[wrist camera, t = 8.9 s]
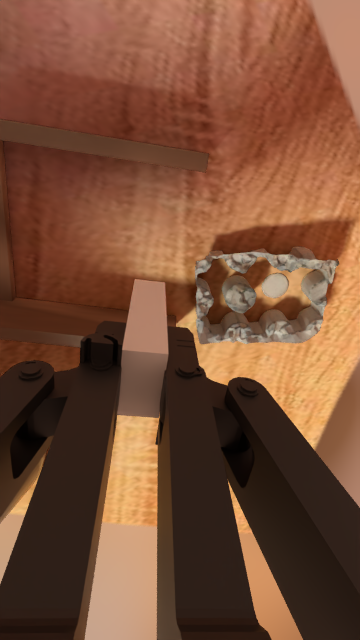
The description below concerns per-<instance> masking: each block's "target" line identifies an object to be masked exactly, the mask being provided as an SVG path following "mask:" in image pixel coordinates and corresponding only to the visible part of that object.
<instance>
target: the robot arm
mask: <svg viewBox="0 0 360 640" xmlns="http://www.w3.org/2000/svg"><path fill="white" fill-rule="evenodd" d="M159 412H160V418H159ZM117 415H126V416H141V417H155V418H159V425H158V431H157V437H156V445H158V513H157V529H158V530H157V640H271V638H270V635H269V633H268V632H267V631H266V630H265V629H264V628H263V627H261V626H260V625H259V623H258V620H257V618H256V615H255V611H254V607H253V602H252V597H251V592H250V587H249V582H248V577H247V572H246V568H245V563H244V558H243V553H242V548H241V543H240V539H239V533H238V529H237V524H236V519H235V514H234V509H233V504H232V499H231V495H230V490H229V485H228V481H229V483H230V485H231V488H232V490H233V492H234V494H235V496H236V498H237V500H238V502H239V504H240V507H241V509H242V511H243V513H244V515H245V517H246V519H247V521H248V524H249V526H250V528H251V530H252V532H253V534H254V536H255V538H256V540H257V542H258V545H259V547H260V549H261V551H262V553H263V555H264V557H265V560H266V562H267V564H268V566H269V568H270V570H271V572H272V574H273V577H274V579H275V581H276V583H277V585H278V587H279V589H280V591H281V594H282V596H283V598H284V600H285V602H286V604H287V606H288V608H289V610H290V613H291V615H292V617H293V619H294V621H295V623H296V625H297V627H298V630H299V632H300V634H301V636H302V638H303V640H360V508H359V506H358V505H357V504H356V503H355V501H354V500H353V499H352V497H351V496H350V495H349V494H348V492H347V491H346V490H345V489H344V487H343V486H342V485H341V484H340V482H339V481H338V480H337V479H336V477H335V476H334V475H333V473H332V472H331V471H330V470H329V468H328V467H327V466H326V465H325V463H324V462H323V461H322V460H321V458H320V457H319V456H318V454H317V453H316V452H315V451H314V449H313V448H312V447H311V445H310V444H309V443H308V442H307V440H306V439H305V438H304V437H303V435H302V434H301V433H300V432H299V430H298V429H297V428H296V426H295V425H294V424H293V423H292V421H291V420H290V419H289V418H288V416H287V415H286V414H285V412H284V411H283V410H282V409H281V407H280V406H279V405H278V404H277V402H276V401H275V400H274V399H273V397H272V396H271V395H270V393H269V392H268V391H267V390H266V388H265V387H264V386H262V385H261V384H260V383H259V382H257V381H255V380H253V379H249V378H244V377H238V378H233V379H232V380H230V381H229V383H228V386H227V385H224V384H220V383H217V382H214V381H212V380H210V379H208V378H207V377H206V373H205V371H204V369H203V368H201V367H200V366H199V363H198V358H197V352H196V348H195V343H194V336H193V334H192V333H191V332H190V330H189V329H188V328H182V327H172V326H167V314H166V294H165V282H157V281H148V280H140V279H135V280H134V286H133V291H132V297H131V303H130V308H129V314H128V319H127V323H124V322H114V321H105V320H104V321H103V322H102V323H100V324H99V325H98V326H97V328H96V331H95V333H94V334H89V335H87V336H85V337H83V339H82V340H81V341H80V364H79V366H78V367H77V368H74V369H71V370H66V371H59V372H54V369H53V367H52V366H51V365H50V364H48V363H46V362H43V361H35V360H33V361H25V362H22V363H19V364H16V365H15V366H13V367H11V368H10V369H9V370H8V371H7V372H6V373H4V374H3V375H2V376H1V377H0V523H1V522H2V521H3V519H4V518H5V517H6V516H7V515H8V514H9V512H10V511H11V510H12V509H13V508H14V506H15V505H16V504H17V503H18V502H19V500H20V499H21V498H22V497H23V496H24V494H25V493H26V492H27V491H28V490H29V488H30V487H31V486H32V485H33V483H34V482H35V480H36V479H37V477H38V475H39V472H40V470H41V467H42V465H43V467H42V470H41V473H40V476H39V478H38V481H37V484H36V487H35V489H34V492H33V495H32V498H31V501H30V503H29V506H28V509H27V512H26V515H25V517H24V520H23V523H22V526H21V528H20V531H19V534H18V537H17V540H16V542H15V545H14V548H13V551H12V554H11V556H10V559H9V562H8V565H7V567H6V570H5V573H4V576H3V579H2V581H1V584H0V640H84V638H85V631H86V625H87V618H88V611H89V605H90V598H91V591H92V584H93V578H94V571H95V564H96V557H97V551H98V544H99V537H100V530H101V524H102V517H103V510H104V504H105V497H106V490H107V483H108V477H109V470H110V463H111V456H112V450H113V443H114V436H115V429H116V420H117ZM49 447H50V448H49ZM48 448H49V451H48V453H47V450H48ZM46 453H47V456H46ZM45 457H46V459H45ZM44 460H45V462H44ZM43 462H44V464H43ZM227 479H228V480H227Z"/></svg>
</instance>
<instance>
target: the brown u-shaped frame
mask: <svg viewBox="0 0 360 640" xmlns="http://www.w3.org/2000/svg"><path fill="white" fill-rule="evenodd" d="M3 140H4V141H11V142H17V143H23V144H29V145H36V146H42V147H48V148H54V149H61V150H67V151H73V152H79V153H86V154H92V155H98V156H105V157H111V158H117V159H123V160H130V161H136V162H142V163H148V164H155V165H161V166H167V167H173V168H180V169H186V170H192V171H199V172H205V173H206V169H207V163H208V157H209V154H208V153H203V152H197V151H191V150H185V149H179V148H173V147H167V146H160V145H154V144H148V143H142V142H136V141H130V140H124V139H118V138H112V137H106V136H100V135H94V134H88V133H82V132H76V131H70V130H64V129H58V128H52V127H46V126H40V125H34V124H27V123H21V122H15V121H9V120H3V119H0V339H4V340H13V341H23V342H32V343H42V344H52V345H61V346H71V347H80V341H81V340H82V339H83V337H85V336H87V335H89V334H94V333H95V331H96V328H97V326H98V325H99V324H100V323H102V322H103V321H104V320H105V321H114V322H124V323H127V319H128V314H129V311H128V310H119V309H111V308H102V307H93V306H85V305H76V304H68V303H59V302H50V301H42V300H33V299H25V298H16V293H15V280H14V268H13V256H12V244H11V231H10V219H9V207H8V195H7V182H6V170H5V158H4V146H3ZM167 326H172V327H176V319H175V316H171V315H167Z"/></svg>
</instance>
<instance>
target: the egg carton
mask: <svg viewBox="0 0 360 640" xmlns="http://www.w3.org/2000/svg"><path fill="white" fill-rule="evenodd" d="M257 257H265V258H266V259H267V260H268V261H269V262H270V264H271V265H272V266H273V267H275V268H277V269H279V270H281V271H283V270H287V271H289V272H292V271H294V270H296V269H298V268H299V267H303V268H309V269H316V270H315V271H313V272H310V273H308V274H307V275H306V276H305V277H304V278H303V280H302V282H301V288H302V291H303V293H304V294H305V295H306V296H307V297H308V298H309V299H310V300H311V305H310V307H307V308H305V309H303V310H302V311H301V312H300V313H299V314H298V316H297V318H296V319H295V320H287V318H286V317H285V315H284V314H283V313H282V312H281V311H279V310H276V309H271V310H268V311H266V312H265V313H263V314H262V316H261V317H260V319H259V321H258V322H248V321H247V319H246V317H245V315H244V314H243V313H245V312H246V311H247V310H248V309H250V308H251V307H252V306H253V305H254V304H255V301H256V297H257V296H256V293H255V291H254V289H252V288H251V286H250V284H249V283H248V281H247V280H246V279H245V278H244V277H242V276H239V275H234V276H230V277H229V278H227V279H226V280H225V281H224V283H223V286H222V292H223V295H224V298H225V302H226V304H227V305H228V306H229V308H231V309H232V310H233V311H234V312H230V313H227V314H226V315H225V316H224V317H223V319H222V321H221V323H220V324H210V323H209V320H208V318H207V317H206V316H205V315H207V314H208V311H209V308H210V307H211V306H212V305H213V303H214V298H213V296H212V295H211V292H210V288H209V285H208V283H207V282H206V281H205V280H204V279H202V278H198V277H197V275H198V274H199V273H203V272H206V271H207V270H208V269H209V268H210V267H211V263H212V260H213V259H217V258H223V259H225V261H226V262H227V264H228V266H229V267H230V268H232V269H234V270H236V271H239V272H240V273H246V272H247V270H248V269H249V268H250V267H251V266H252V265H253V264H254V263H255V261H256V259H257ZM338 265H339V261H338V259H337V260H336V261H333V260H326V261H323V260H318V259H316V258H315V256H314V254H313V252H312V251H311V250H310V249H308V248H305V247H300V246H299V247H293V248H292V250H291V252H290V253H289V254H287V255H273V254H269V253H268V252H267V251H266V250H265V249H264V248H261V249H257V250H252V251H250V252H246V253H236V254H226V255H224V254H223V251H218V250H217V251H211V252H209V255H208V256H206V259H205V260H202V261H196V266H195V280H196V285H197V292H196V301H197V303H196V314H197V319H196V325H197V332H198V337H199V342H200V343H201V344H207V343H220V342H222V341H231V342H233V343H234V342H235V341H240V342H243V343H245V344H248V343H254V342H266V343H267V342H286V343H301V342H305V341H307V340H309V339H310V338H311V337H313V336H314V335H315V334H317V333H318V332H319V331H320V328H321V324H322V322H323V313H324V308H325V306H326V305H327V298H326V292H327V287H328V284H329V283H330V284H331V283H332V281H333V278H334V274H335V269H336V266H338ZM287 289H288V280H287V278H286V276H284V275H283V274H280V273H275V274H270V275H269V276H267V277H266V278H265V279H264V281H263V283H262V291H263V293H264V294H265V295H266V296H268V297H271V298H278V297H280V296H282V295H283V294H284V293H285V292H286V291H287ZM235 311H236V312H235Z"/></svg>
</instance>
